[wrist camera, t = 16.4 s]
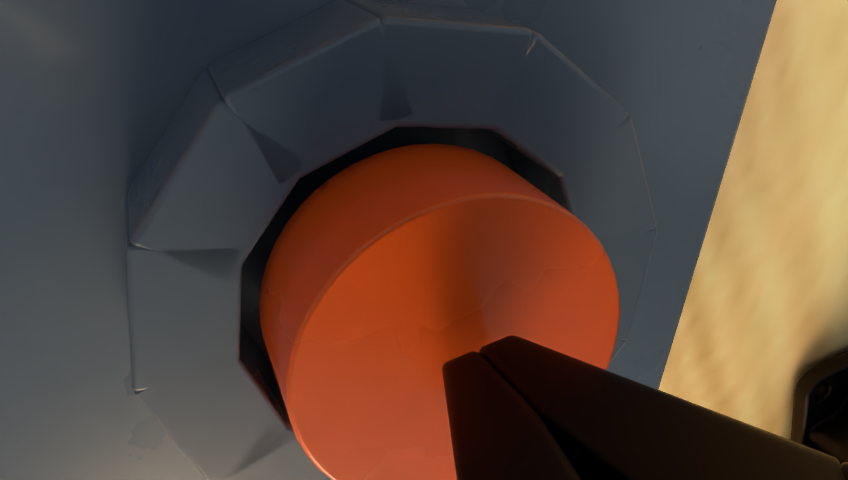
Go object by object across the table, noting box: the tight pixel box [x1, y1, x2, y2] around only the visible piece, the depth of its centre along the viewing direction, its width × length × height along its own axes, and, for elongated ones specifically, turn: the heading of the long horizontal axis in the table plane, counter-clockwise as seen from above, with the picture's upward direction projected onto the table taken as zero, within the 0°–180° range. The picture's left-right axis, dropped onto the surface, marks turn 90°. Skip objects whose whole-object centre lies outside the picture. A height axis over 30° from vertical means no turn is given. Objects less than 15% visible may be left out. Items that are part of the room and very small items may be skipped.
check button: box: [259, 143, 620, 480], centre depth 9 cm, size 4×4×2 cm
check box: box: [0, 0, 777, 480], centre depth 11 cm, size 12×9×4 cm
